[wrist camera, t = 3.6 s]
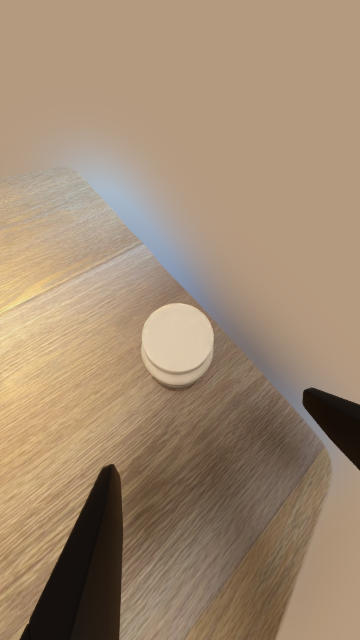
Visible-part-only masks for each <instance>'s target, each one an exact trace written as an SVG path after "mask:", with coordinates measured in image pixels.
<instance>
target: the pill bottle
mask: <svg viewBox="0 0 360 640" xmlns="http://www.w3.org/2000/svg"><path fill="white" fill-rule="evenodd" d="M213 343H214V334H213V329H212V326H211V324H210V322H209V320H208V319H207V317H206V316H205V315H204V314H203V313H202V312H201V311H199V310H198V309H196V308H195V307H192V306H190V305H187V304H179V303H176V304H169V305H165V306H163V307H161V308H159V309H157V310H156V311H154V312H153V313H152V314H151V315H150V316H149V318H148V319H147V321H146V322H145V324H144V327H143V330H142V348H141V352H142V358H143V361H144V364H145V366H146V368H147V370H148V371H149V373H150V374H151V375H152V376H153V377H154V379H155V380H156V381H157V382H158V383H159V384H160V385H161V386H163V387H164V388H166V389H169V390H174V391H179V390H184V389H187V388H189V387H191V386H192V385H194V384H195V383H196V382H197V381H198V380H199V379H200V378H201V377H202V376H203V375H204V374H205V372H206V371H207V369H208V368H209V366H210V364H211V361H212V358H213V351H214V348H213Z"/></svg>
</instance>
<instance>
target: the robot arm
mask: <svg viewBox="0 0 360 640" xmlns="http://www.w3.org/2000/svg"><path fill="white" fill-rule="evenodd" d="M303 406H304V407H305V409H306V410H307V411H308V412H309V414H310V415H311V416H312V417H313V419H314V420H315V421H316V422H317V424H318V425H319V426H320V427H321V428H322V430H323V431H324V432H325V433H326V435H327V436H328V437H329V438H330V439H331V440H332V441H333V443H334V444H335V445H336V446H337V447H338V448H339V449H340V450H341V451H342V452H343V453H344V454H345V455H346V456H347V457H348V458H349V460H350V461H352V463H353V464H354V465H355V466H356V467H357V468H358V469H359V470H360V405H359V404H357V403H354V402H351V401H348V400H345V399H343V398H340V397H337V396H335V395H332V394H329V393H326V392H323V391H321V390H318V389H315V388H308V389H306V390H304V392H303ZM122 551H123V516H122V496H121V479H120V475H119V473H118V471H117V469H116V467H115V466H114V464H110V465H107V466H105V467H103V468H102V469H101V471H100V473H99V475H98V477H97V480H96V482H95V484H94V486H93V488H92V490H91V492H90V494H89V496H88V498H87V500H86V503H85V505H84V507H83V509H82V511H81V513H80V515H79V517H78V519H77V521H76V523H75V525H74V528H73V530H72V532H71V534H70V536H69V538H68V540H67V542H66V544H65V546H64V548H63V550H62V553H61V555H60V557H59V559H58V561H57V563H56V565H55V567H54V569H53V571H52V573H51V576H50V578H49V580H48V582H47V584H46V586H45V588H44V590H43V592H42V594H41V596H40V598H39V601H38V603H37V605H36V607H35V609H34V611H33V613H32V615H31V617H30V620H29V624H27V625H26V627H25V629H24V632H23V634H22V636H21V638H20V640H119V630H120V604H121V578H122Z"/></svg>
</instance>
